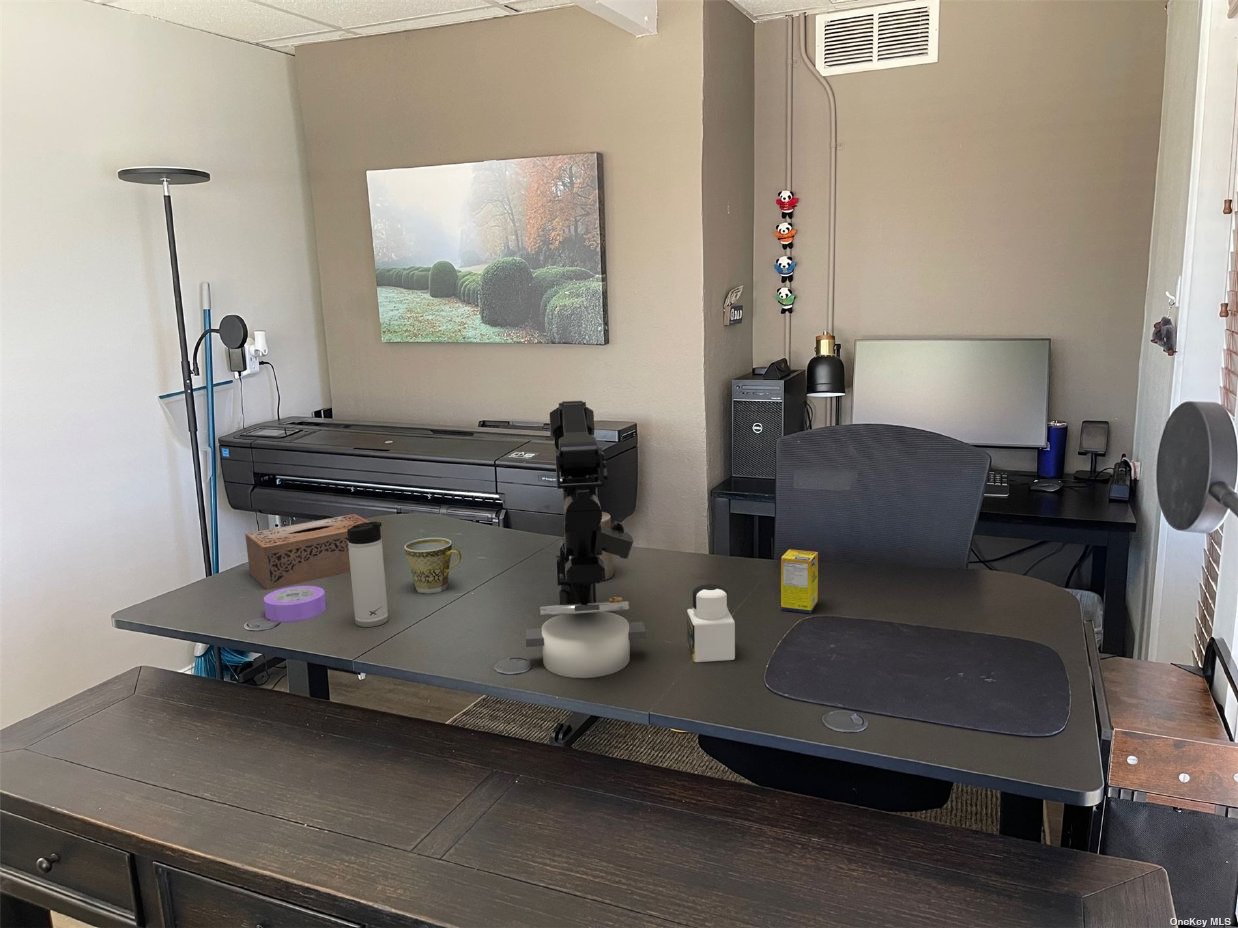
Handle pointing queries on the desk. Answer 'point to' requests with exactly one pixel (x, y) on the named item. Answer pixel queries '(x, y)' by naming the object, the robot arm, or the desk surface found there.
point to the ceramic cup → (430, 563)
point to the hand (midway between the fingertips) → (584, 604)
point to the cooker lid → (586, 607)
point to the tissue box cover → (300, 551)
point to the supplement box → (799, 581)
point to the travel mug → (367, 574)
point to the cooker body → (585, 643)
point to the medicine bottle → (710, 625)
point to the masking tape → (294, 603)
